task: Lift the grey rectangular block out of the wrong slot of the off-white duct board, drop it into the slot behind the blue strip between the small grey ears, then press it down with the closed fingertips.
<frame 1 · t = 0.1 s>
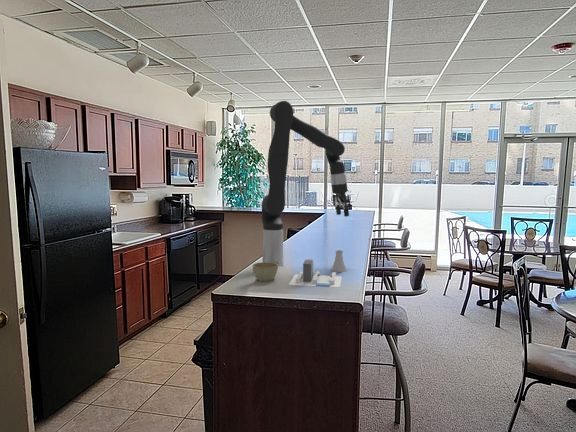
hand: (342, 215, 195), 22 cm above the countertop, tool pointing down, fingers open, 8 cm apart
duct board: (316, 284, 153), on the countertop
grey rectangular block: (308, 278, 155), point 1 cm above the countertop, touching duct board
flower pot: (265, 283, 156), on the countertop
flask: (338, 274, 169), on the countertop
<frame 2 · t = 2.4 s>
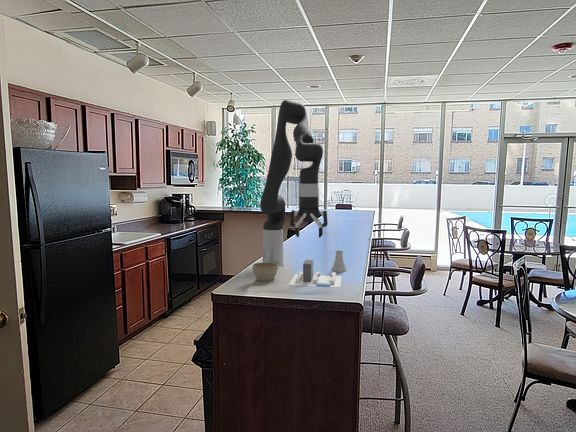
hand: (308, 237, 153), 18 cm above the countertop, tool pointing down, fingers open, 8 cm apart
nothing on the countertop moved.
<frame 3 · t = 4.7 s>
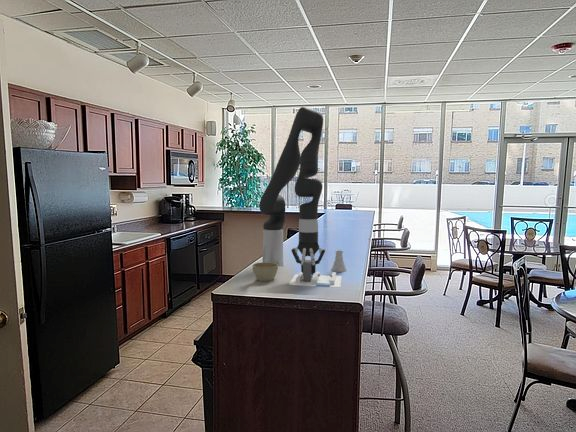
hand: (308, 273, 155), 4 cm above the countertop, tool pointing down, fingers closed on grey rectangular block, 2 cm apart
grey rectangular block: (308, 278, 155), point 2 cm above the countertop, touching duct board, gripper
everything else where it was.
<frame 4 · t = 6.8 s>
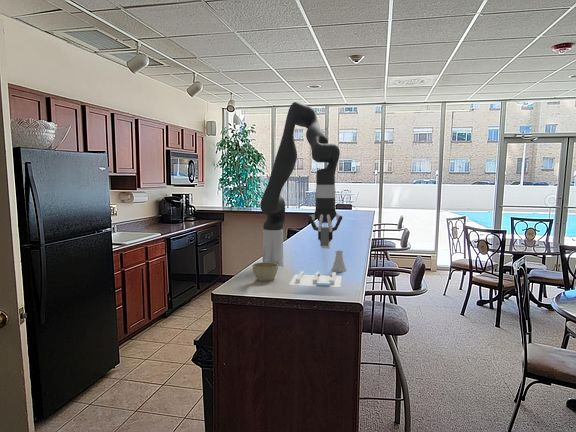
hand: (325, 241, 152), 17 cm above the countertop, tool pointing down, fingers closed on grey rectangular block, 2 cm apart
grey rectangular block: (325, 247, 152), point 14 cm above the countertop, tilted 18°, touching gripper
everything else where it was.
when the fingers open (5 cm above the countertop, at t = 9.1 s): grey rectangular block drops 2 cm, resting on duct board.
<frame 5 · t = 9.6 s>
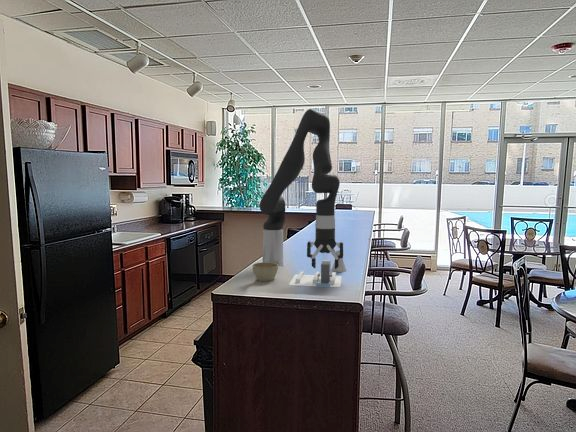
hand: (325, 268, 153), 6 cm above the countertop, tool pointing down, fingers open, 8 cm apart
grey rectangular block: (325, 280, 153), point 1 cm above the countertop, touching duct board
everything else where it was.
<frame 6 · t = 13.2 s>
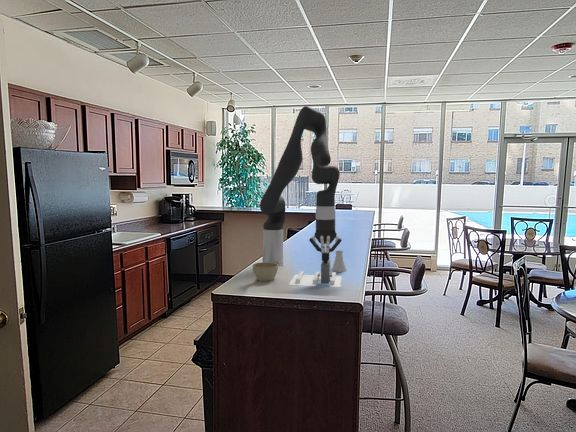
hand: (325, 262, 153), 8 cm above the countertop, tool pointing down, fingers closed
grey rectangular block: (325, 280, 153), point 1 cm above the countertop, touching duct board, gripper
everything else where it was.
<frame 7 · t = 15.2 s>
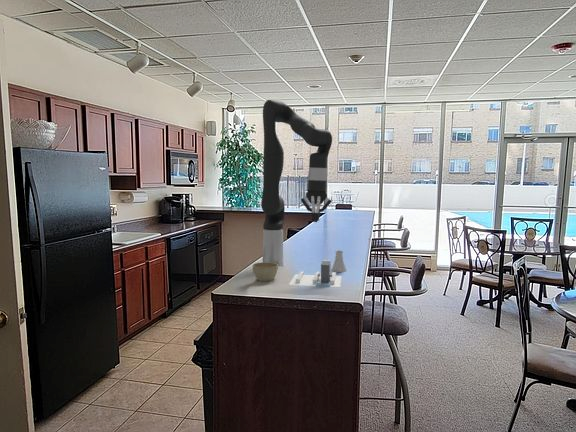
hand: (315, 221, 161), 23 cm above the countertop, tool pointing down, fingers closed
grey rectangular block: (325, 280, 153), point 1 cm above the countertop, touching duct board
everything else where it was.
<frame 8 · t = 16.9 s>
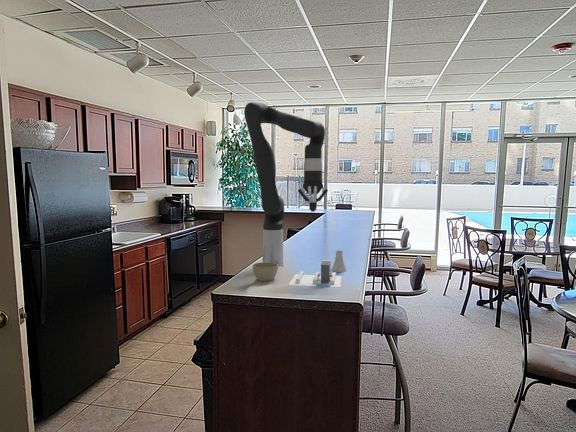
hand: (312, 211, 166), 27 cm above the countertop, tool pointing down, fingers closed
nothing on the countertop moved.
at the end: grey rectangular block 0.8 cm from the target spot on the duct board, point 1.5 cm above the duct board's base; grey rectangular block tilted 0°; the gripper is holding nothing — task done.
